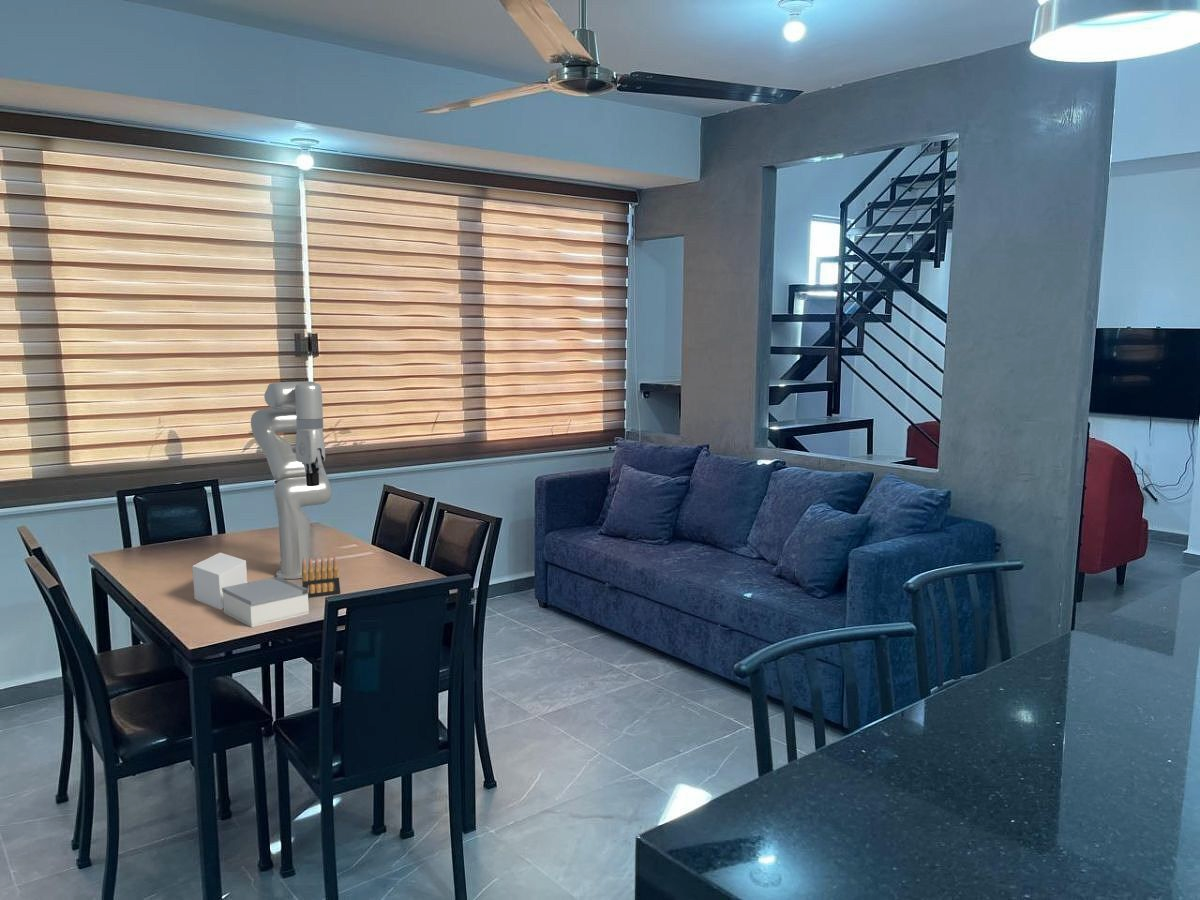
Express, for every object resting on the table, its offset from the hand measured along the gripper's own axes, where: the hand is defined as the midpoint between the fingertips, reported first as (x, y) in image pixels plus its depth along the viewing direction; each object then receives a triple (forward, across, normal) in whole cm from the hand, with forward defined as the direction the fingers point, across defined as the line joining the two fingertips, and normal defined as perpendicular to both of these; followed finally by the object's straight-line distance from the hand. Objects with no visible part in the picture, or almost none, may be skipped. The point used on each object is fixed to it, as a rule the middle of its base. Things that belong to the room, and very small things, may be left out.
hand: (312, 485), depth 258 cm
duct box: (+32, +11, -21) cm, 40 cm away
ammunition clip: (+32, +6, -2) cm, 33 cm away
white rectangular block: (+32, -15, -23) cm, 43 cm away
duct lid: (+26, +11, -21) cm, 35 cm away
